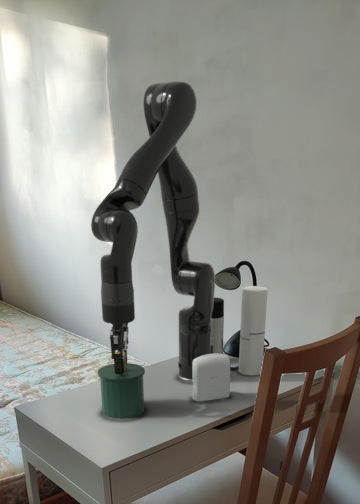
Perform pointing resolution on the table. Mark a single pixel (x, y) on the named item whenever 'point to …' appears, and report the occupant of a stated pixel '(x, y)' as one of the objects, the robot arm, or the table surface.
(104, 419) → the table surface
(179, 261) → the robot arm
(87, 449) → the table surface
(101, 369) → the lid
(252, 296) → the cylindrical container
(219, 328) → the spray can
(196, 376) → the photo printer
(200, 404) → the table surface
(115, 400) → the tin
